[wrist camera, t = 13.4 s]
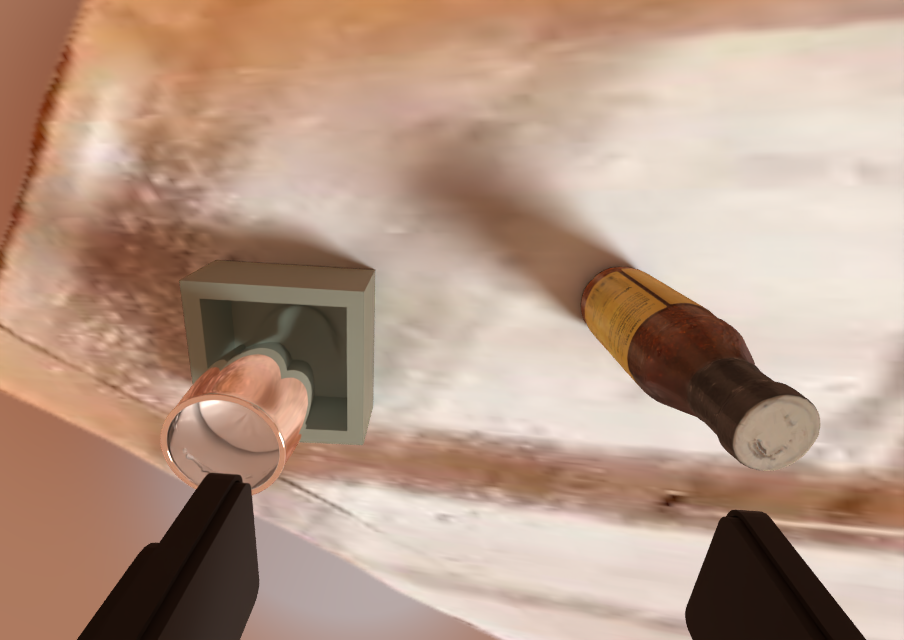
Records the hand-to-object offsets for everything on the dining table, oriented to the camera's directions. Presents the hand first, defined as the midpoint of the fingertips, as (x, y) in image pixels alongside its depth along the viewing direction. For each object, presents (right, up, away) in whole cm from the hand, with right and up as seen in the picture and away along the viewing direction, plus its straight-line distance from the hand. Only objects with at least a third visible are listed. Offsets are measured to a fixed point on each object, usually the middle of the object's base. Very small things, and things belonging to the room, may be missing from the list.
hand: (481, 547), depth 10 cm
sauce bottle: (+13, +6, +31) cm, 34 cm away
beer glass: (-13, +3, +31) cm, 33 cm away
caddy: (-13, +3, +31) cm, 34 cm away
